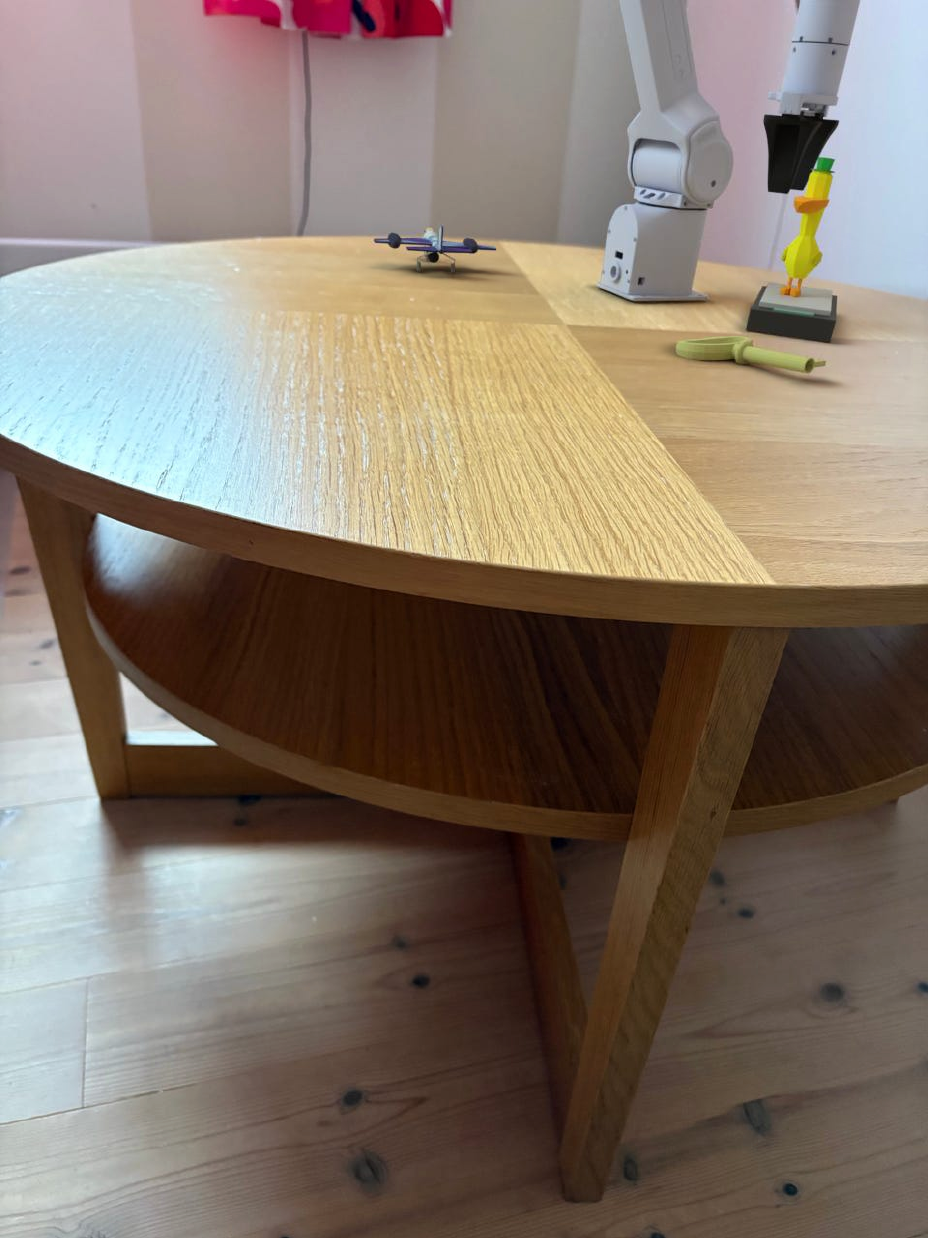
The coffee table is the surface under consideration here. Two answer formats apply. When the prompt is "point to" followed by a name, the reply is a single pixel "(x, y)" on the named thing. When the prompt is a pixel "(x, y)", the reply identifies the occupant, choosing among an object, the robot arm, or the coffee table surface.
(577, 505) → the coffee table surface
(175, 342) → the coffee table surface
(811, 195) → the toy figure
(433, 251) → the toy airplane
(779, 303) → the scale
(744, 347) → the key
